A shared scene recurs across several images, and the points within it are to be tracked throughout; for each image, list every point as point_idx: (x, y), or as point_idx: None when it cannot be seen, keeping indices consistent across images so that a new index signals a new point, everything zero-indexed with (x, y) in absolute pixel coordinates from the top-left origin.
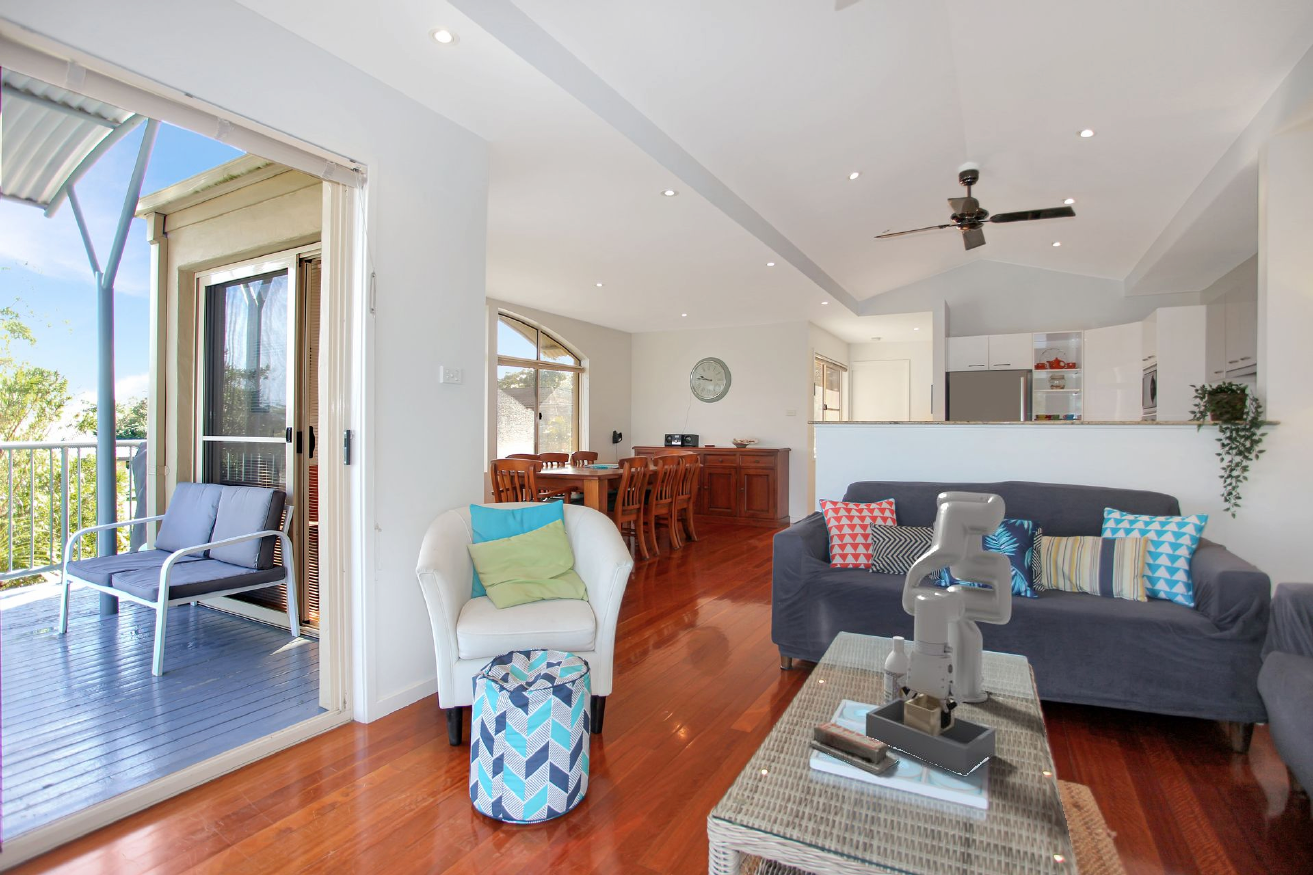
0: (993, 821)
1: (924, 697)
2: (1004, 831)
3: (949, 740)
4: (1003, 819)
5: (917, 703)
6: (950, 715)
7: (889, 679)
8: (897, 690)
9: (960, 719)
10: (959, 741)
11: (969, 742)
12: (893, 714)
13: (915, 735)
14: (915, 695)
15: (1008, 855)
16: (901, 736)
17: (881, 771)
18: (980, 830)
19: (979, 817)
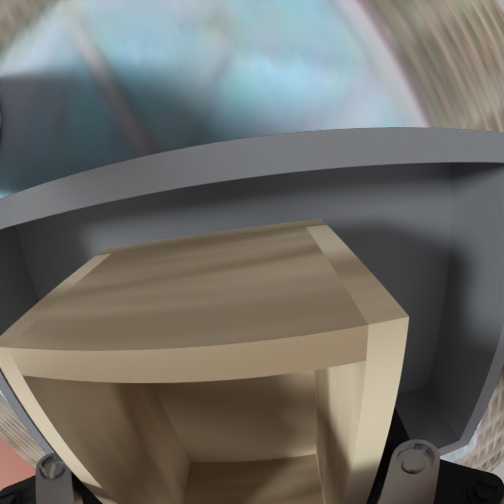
0: (486, 439)
1: (69, 407)
2: (497, 440)
3: (286, 215)
4: (500, 423)
5: (133, 475)
6: (399, 427)
7: None
8: None
9: (355, 164)
10: (325, 178)
11: (477, 401)
12: (10, 294)
13: None
14: (74, 485)
15: (495, 461)
16: None
17: None
18: (468, 465)
19: (468, 450)
